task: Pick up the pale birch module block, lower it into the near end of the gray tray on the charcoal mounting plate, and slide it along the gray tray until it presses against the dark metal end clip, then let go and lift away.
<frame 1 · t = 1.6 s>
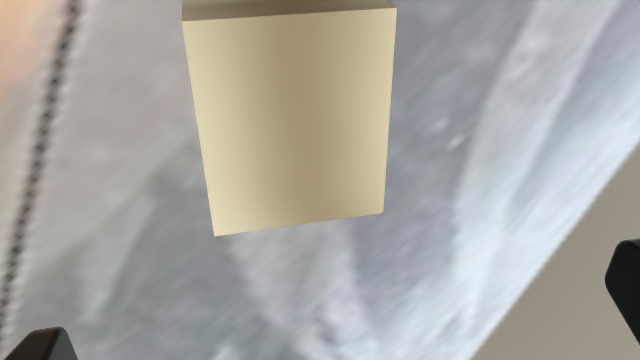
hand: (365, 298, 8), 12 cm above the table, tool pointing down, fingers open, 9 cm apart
module block: (268, 59, 18), on the table
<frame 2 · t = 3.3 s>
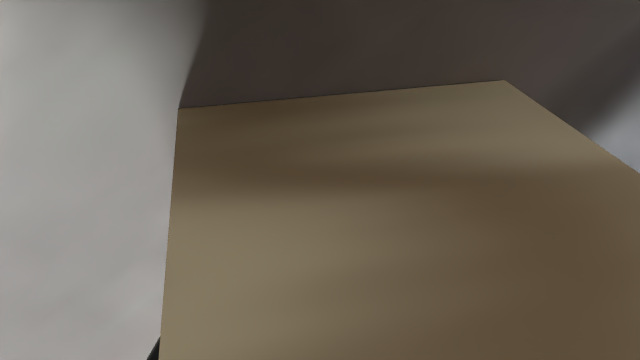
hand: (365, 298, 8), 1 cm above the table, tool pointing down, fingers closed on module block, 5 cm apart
module block: (346, 249, 9), on the table, touching gripper
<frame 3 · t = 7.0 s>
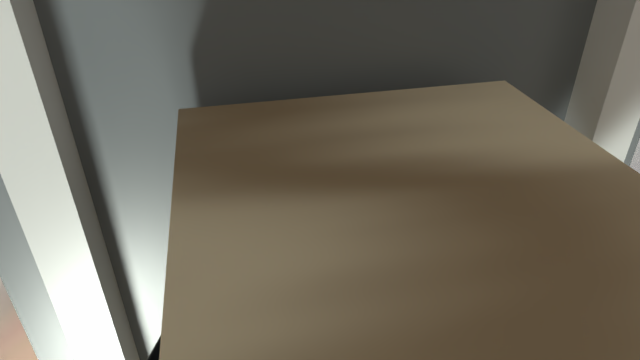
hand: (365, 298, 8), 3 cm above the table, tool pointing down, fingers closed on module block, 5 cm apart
module block: (346, 250, 9), point 2 cm above the table, touching gripper
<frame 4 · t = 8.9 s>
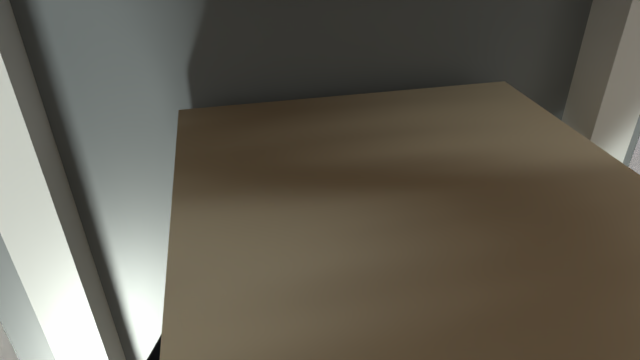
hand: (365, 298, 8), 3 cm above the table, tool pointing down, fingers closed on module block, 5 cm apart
gray tray: (322, 295, 12), on the table
module block: (346, 250, 9), point 2 cm above the table, touching gripper
when the fingers open (2 cm above the table, at t = 10.8 s): module block stays where it is, resting on gray tray.
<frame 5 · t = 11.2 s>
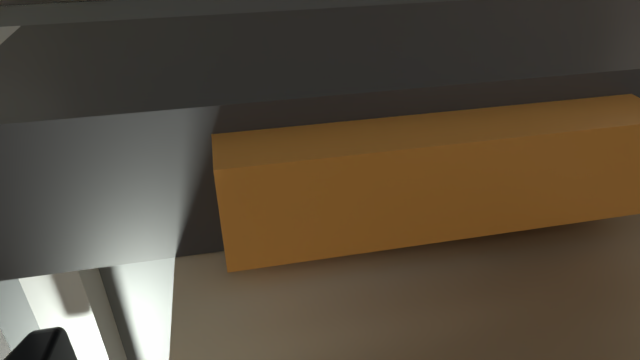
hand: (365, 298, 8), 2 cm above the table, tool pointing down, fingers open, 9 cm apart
module block: (345, 259, 9), point 1 cm above the table, touching gray tray
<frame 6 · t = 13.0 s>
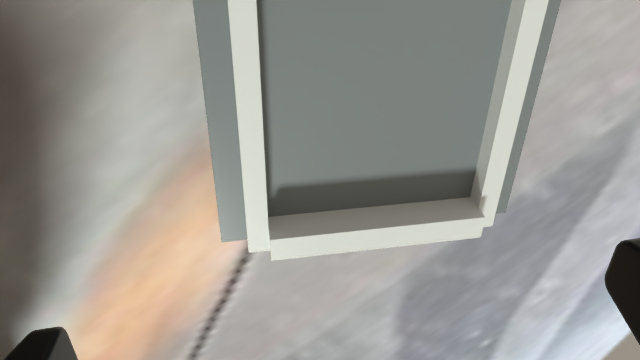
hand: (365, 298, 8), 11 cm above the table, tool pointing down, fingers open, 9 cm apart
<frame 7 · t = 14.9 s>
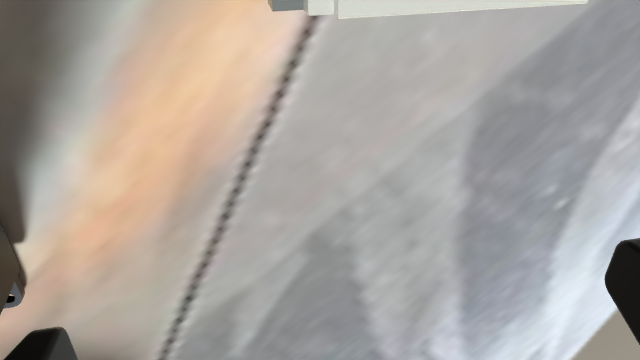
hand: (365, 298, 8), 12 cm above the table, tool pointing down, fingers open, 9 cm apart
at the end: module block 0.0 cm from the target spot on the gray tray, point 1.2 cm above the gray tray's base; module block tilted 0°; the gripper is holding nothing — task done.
